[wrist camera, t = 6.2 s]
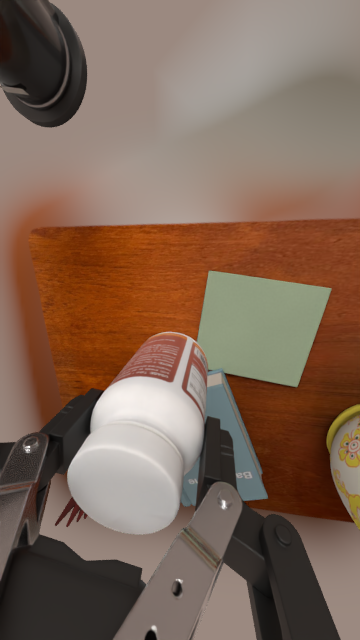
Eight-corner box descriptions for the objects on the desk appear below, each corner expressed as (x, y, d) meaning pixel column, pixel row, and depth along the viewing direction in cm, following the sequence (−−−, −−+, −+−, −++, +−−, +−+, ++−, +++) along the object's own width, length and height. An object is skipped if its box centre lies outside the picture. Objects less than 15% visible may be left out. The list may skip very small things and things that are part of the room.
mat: (209, 270, 32) (208, 270, 31) (329, 288, 30) (331, 288, 29) (193, 364, 37) (192, 366, 36) (296, 385, 35) (297, 387, 34)
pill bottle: (128, 370, 20) (30, 497, 9) (159, 316, 18) (77, 399, 7) (186, 404, 20) (152, 570, 9) (222, 354, 18) (232, 491, 7)
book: (261, 469, 40) (267, 498, 36) (183, 480, 45) (180, 507, 40) (222, 368, 35) (223, 386, 31) (138, 390, 39) (127, 409, 35)
